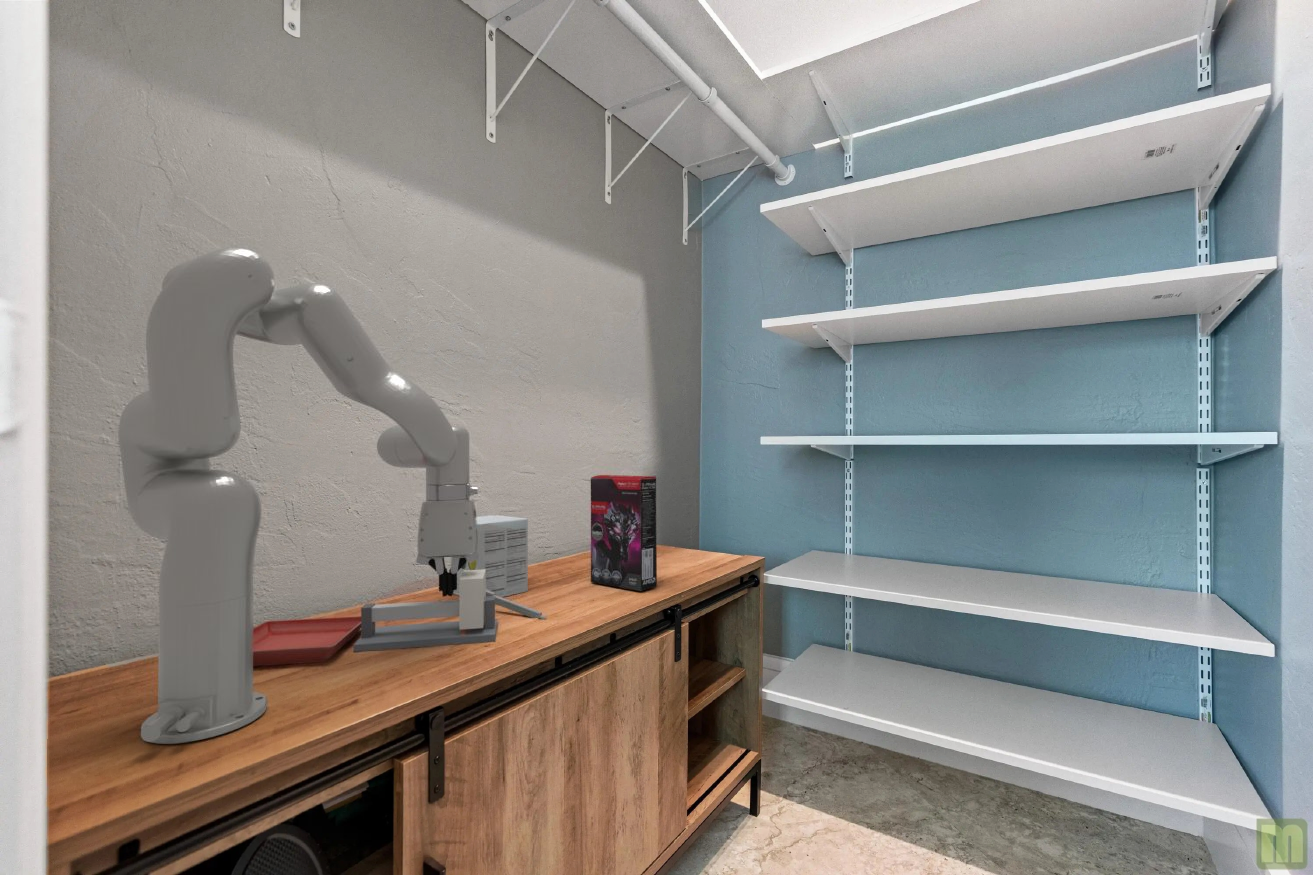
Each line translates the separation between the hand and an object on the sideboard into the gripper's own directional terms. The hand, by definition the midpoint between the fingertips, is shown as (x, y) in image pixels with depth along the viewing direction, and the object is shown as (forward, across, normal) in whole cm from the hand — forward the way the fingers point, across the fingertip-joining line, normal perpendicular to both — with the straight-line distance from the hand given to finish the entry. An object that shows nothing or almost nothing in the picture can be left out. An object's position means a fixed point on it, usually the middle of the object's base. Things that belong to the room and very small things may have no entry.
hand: (448, 594), depth 107 cm
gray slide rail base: (+8, +3, 0) cm, 8 cm away
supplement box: (+8, -6, -32) cm, 33 cm away
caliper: (+8, -10, -13) cm, 18 cm away
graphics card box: (+8, -38, -31) cm, 49 cm away
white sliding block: (+5, -4, 0) cm, 7 cm away
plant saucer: (+8, +24, +1) cm, 26 cm away
